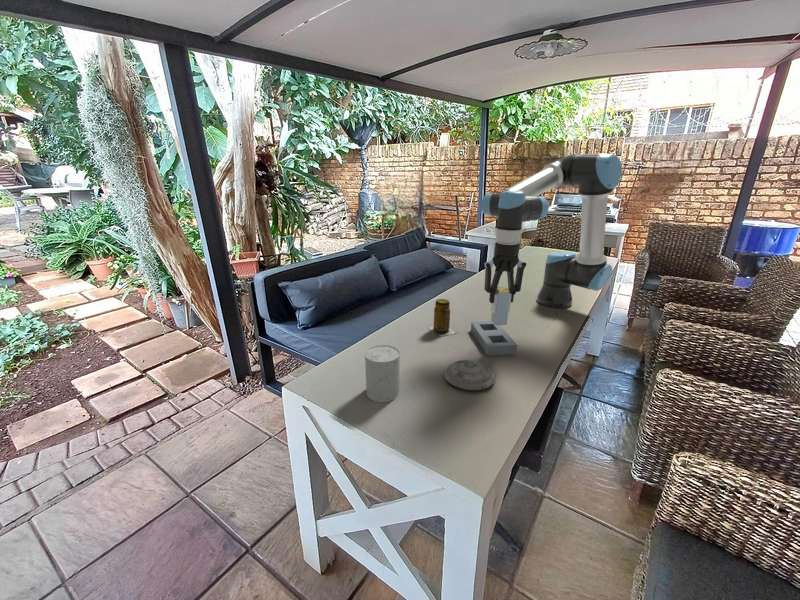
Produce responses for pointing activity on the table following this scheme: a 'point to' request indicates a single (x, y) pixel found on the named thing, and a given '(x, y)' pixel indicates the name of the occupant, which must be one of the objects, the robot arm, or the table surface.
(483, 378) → the flying saucer
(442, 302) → the condiment
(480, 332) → the panel
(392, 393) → the pale grey cylinder
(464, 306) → the table surface
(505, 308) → the plug
